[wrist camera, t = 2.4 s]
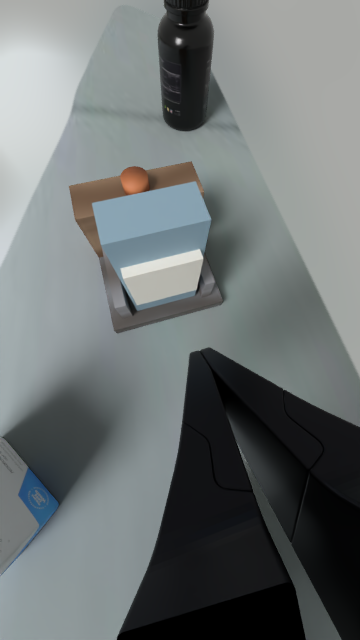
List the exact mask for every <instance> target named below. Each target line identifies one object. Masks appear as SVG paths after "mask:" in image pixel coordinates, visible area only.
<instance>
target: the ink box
mask: <svg viewBox="0 0 360 640" xmlns="http://www.w3.org/2000/svg"><path fill="white" fill-rule="evenodd" d="M58 506H59V503H58V502H57V501H56V500H55V498H54V497H53V496H52V495H51V494H50V492H49V491H48V490H47V489H46V488H45V486H44V485H43V484H42V483H41V482H40V480H39V479H38V478H37V477H36V476H35V475H34V473H33V472H32V471H31V470H30V469H29V467H28V466H27V465H26V464H25V463H24V461H23V460H22V459H21V458H20V456H19V455H18V454H17V453H16V452H15V450H14V449H13V448H12V447H11V446H10V445H9V443H8V442H7V441H6V440H5V439H4V438H0V576H1V575H2V574H3V573H4V572H5V571H6V570H7V569H8V567H9V566H10V565H11V564H12V563H13V562H14V561H15V560H16V559H17V558H18V556H19V555H20V554H21V553H22V552H23V550H24V549H25V548H26V547H27V546H28V544H29V543H30V542H31V541H32V539H33V538H34V537H35V536H36V535H37V533H38V532H39V531H40V530H41V528H42V527H43V526H44V525H45V523H46V522H47V521H48V520H49V518H50V517H51V516H52V514H53V513H54V512H55V511H56V509H57V508H58Z"/></svg>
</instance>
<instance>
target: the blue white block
mask: <svg viewBox="0 0 360 640" xmlns="http://www.w3.org/2000/svg"><path fill="white" fill-rule="evenodd" d="M92 206H93V211H94V216H95V220H96V225H97V230H98V234H99V239H100V244H101V246H102V248H103V250H104V252H105V254H106V255H107V257H108V259H109V261H110V263H111V264H112V266H113V268H114V270H115V272H116V273H117V275H118V277H119V279H120V280H121V282H122V284H123V286H124V288H125V289H126V291H127V293H128V295H129V297H130V298H131V300H132V302H133V304H134V306H135V307H136V309H137V311H139V310H143V309H147V308H151V307H154V306H158V305H162V304H166V303H169V302H173V301H177V300H181V299H184V298H188V297H192V296H195V293H196V290H197V286H198V281H199V277H200V272H201V268H202V263H203V256H204V251H205V247H206V242H207V238H208V233H209V228H210V224H211V217H210V215H209V213H208V210H207V208H206V205H205V203H204V200H203V198H202V195H201V193H200V191H199V188H198V186H197V183H196V181H195V182H190V183H185V184H180V185H175V186H171V187H166V188H161V189H156V190H152V191H147V192H142V193H137V194H133V195H128V196H123V197H118V198H114V199H109V200H104V201H99V202H95V203H92Z"/></svg>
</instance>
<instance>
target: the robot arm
mask: <svg viewBox="0 0 360 640" xmlns="http://www.w3.org/2000/svg"><path fill="white" fill-rule="evenodd" d="M235 439H236V440H235ZM236 441H237V443H238V445H239V447H240V449H241V450H242V452H243V454H244V456H245V458H246V460H247V462H248V464H249V465H250V467H251V469H252V471H253V473H254V475H255V477H256V479H257V481H258V482H259V484H260V486H261V488H262V490H263V492H264V494H265V496H266V497H267V499H268V501H269V503H270V505H271V507H272V509H273V511H274V512H275V514H276V516H277V518H278V520H279V522H280V524H281V526H282V528H283V529H284V531H285V533H286V535H287V537H288V539H289V541H290V542H291V543H292V547H293V548H294V550H295V552H296V554H297V556H298V558H299V560H300V562H301V563H302V565H303V567H304V569H305V571H306V573H307V575H308V577H309V579H310V580H311V582H312V584H313V586H314V588H315V590H316V592H317V594H318V595H319V597H320V599H321V601H322V603H323V605H324V607H325V609H326V610H327V612H328V614H329V616H330V618H331V620H332V622H333V624H334V626H335V627H336V629H337V631H338V633H339V635H340V637H341V639H342V640H360V427H358V426H356V425H354V424H352V423H349V422H347V421H345V420H343V419H341V418H339V417H336V416H334V415H332V414H330V413H328V412H326V411H324V410H322V409H320V408H318V407H316V406H314V405H312V404H310V403H308V402H306V401H304V400H302V399H301V398H299V397H297V396H295V395H293V394H291V393H290V392H288V391H286V390H283V389H282V388H281V387H279V386H277V385H275V384H274V383H272V382H270V381H268V380H266V379H265V378H263V377H261V376H259V375H258V374H256V373H254V372H252V371H251V370H249V369H247V368H245V367H243V366H242V365H240V364H238V363H236V362H235V361H233V360H231V359H229V358H228V357H226V356H224V355H222V354H220V353H219V352H217V351H215V350H213V349H212V348H205V349H202V350H200V351H195V352H192V353H190V357H189V366H188V375H187V384H186V393H185V401H184V410H183V419H182V427H181V435H180V442H179V449H178V454H177V459H176V464H175V469H174V473H173V477H172V481H171V485H170V490H169V494H168V498H167V502H166V506H165V510H164V514H163V518H162V522H161V526H160V530H159V534H158V538H157V541H156V544H155V548H154V551H153V554H152V557H151V560H150V563H149V565H148V568H147V571H146V573H145V576H144V578H143V580H142V582H141V584H140V587H139V589H138V591H137V594H136V596H135V598H134V600H133V603H132V605H131V607H130V609H129V612H128V614H127V616H126V618H125V621H124V623H123V625H122V627H121V630H120V632H119V634H118V637H117V640H306V638H305V634H304V629H303V624H302V619H301V614H300V609H299V604H298V599H297V595H296V590H295V587H294V585H293V582H292V580H291V578H290V576H289V574H288V572H287V569H286V567H285V565H284V563H283V561H282V559H281V557H280V554H279V552H278V550H277V548H276V546H275V544H274V542H273V539H272V537H271V535H270V533H269V531H268V529H267V526H266V524H265V522H264V519H263V516H262V514H261V511H260V509H259V506H258V503H257V501H256V498H255V495H254V493H253V489H252V486H251V483H250V480H249V477H248V474H247V472H246V469H245V466H244V463H243V460H242V457H241V454H240V451H239V448H238V445H237V443H236Z"/></svg>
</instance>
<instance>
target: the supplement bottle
mask: <svg viewBox="0 0 360 640" xmlns="http://www.w3.org/2000/svg"><path fill="white" fill-rule="evenodd" d="M208 3H209V0H164V7H165V9H166V10H167V12H166V14H165V15H164V16H163V17H162V19H161V21H160V24H159V27H158V50H159V65H160V81H161V96H162V110H163V117H164V120H165V122H166V123H167V124H168V125H169V126H170V127H172V128H174V129H176V130H181V131H188V130H193V129H195V128H197V127H199V126H200V125H201V124H202V123H203V121H204V120H205V117H206V110H207V101H208V91H209V81H210V70H211V60H212V50H213V38H214V29H213V25H212V22H211V19H210V18H209V16H208V15H207V14H206V10H207V8H208Z"/></svg>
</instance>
